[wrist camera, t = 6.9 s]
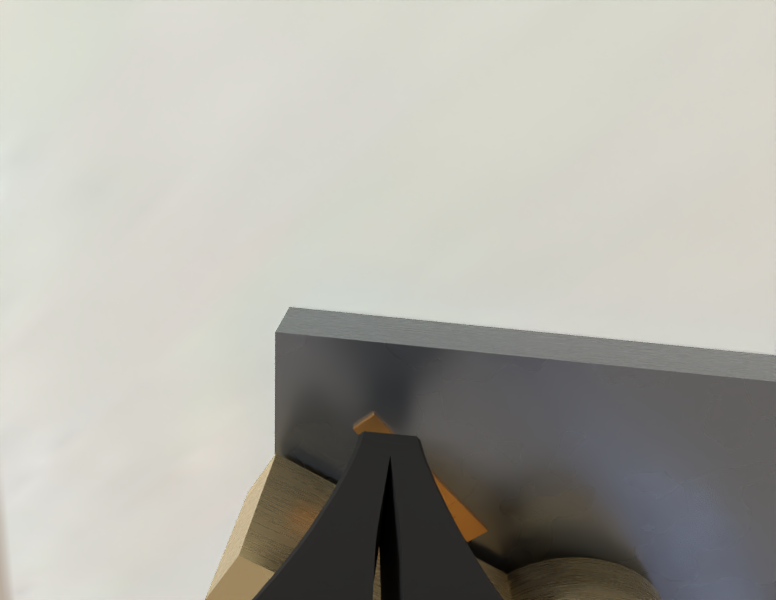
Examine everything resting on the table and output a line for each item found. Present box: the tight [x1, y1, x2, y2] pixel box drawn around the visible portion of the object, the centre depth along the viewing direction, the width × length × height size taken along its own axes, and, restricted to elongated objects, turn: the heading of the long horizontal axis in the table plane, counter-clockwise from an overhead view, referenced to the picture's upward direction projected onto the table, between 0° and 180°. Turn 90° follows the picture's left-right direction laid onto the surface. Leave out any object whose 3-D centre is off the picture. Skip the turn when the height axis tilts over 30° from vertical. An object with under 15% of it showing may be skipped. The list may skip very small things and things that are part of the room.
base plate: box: [275, 307, 776, 600], centre depth 14 cm, size 16×16×3 cm
